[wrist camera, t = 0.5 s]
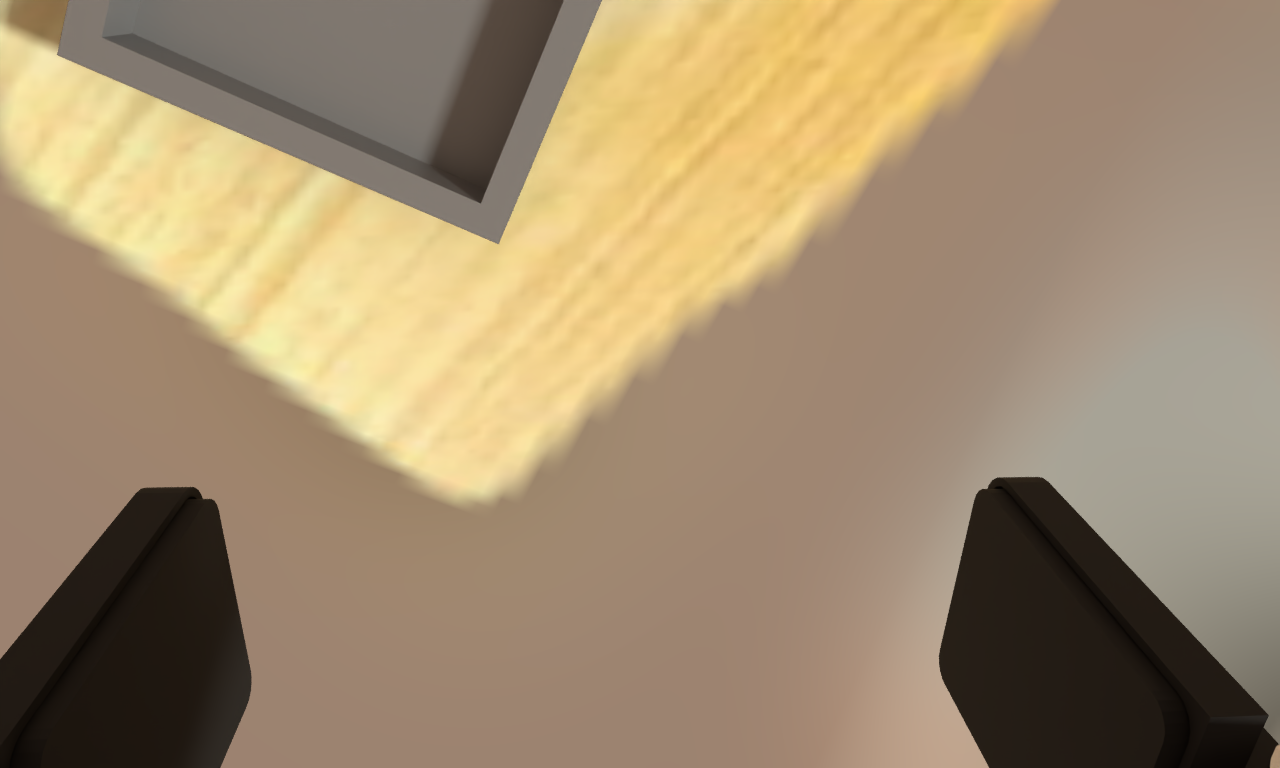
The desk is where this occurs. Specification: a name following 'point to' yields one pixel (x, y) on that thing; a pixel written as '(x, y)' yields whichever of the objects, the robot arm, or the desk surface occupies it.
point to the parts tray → (359, 84)
